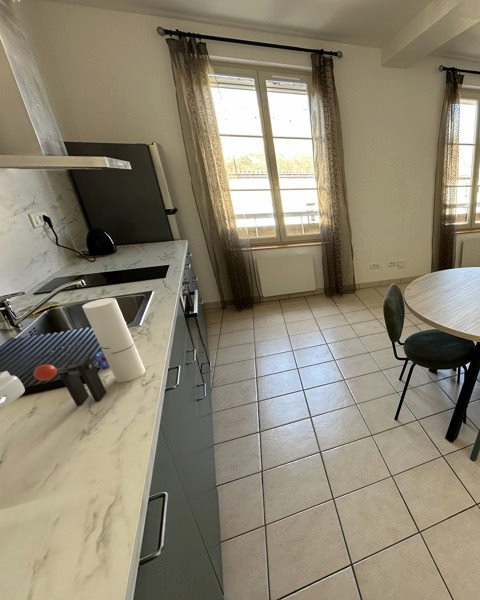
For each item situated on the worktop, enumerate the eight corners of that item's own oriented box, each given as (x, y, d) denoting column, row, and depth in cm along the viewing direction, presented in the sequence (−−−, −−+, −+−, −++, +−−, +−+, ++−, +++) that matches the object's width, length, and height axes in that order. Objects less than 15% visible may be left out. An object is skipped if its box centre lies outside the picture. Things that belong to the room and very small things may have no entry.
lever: (50, 378, 74) (48, 363, 74) (30, 383, 73) (27, 367, 73) (89, 373, 87) (87, 360, 87) (72, 377, 86) (70, 363, 86)
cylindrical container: (129, 372, 103) (97, 298, 93) (152, 370, 103) (122, 297, 93) (111, 386, 96) (74, 308, 87) (135, 384, 96) (101, 307, 87)
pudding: (96, 361, 110) (90, 348, 108) (139, 352, 114) (133, 339, 112) (81, 381, 100) (74, 366, 98) (129, 369, 104) (123, 355, 102)
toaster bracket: (104, 411, 86) (83, 371, 81) (61, 422, 83) (37, 380, 78) (122, 385, 96) (104, 348, 91) (84, 394, 93) (64, 355, 89)
